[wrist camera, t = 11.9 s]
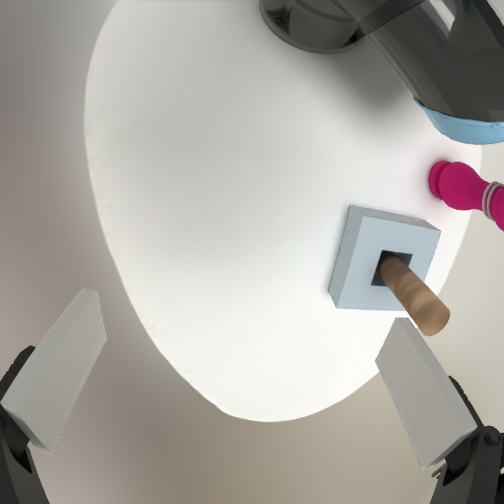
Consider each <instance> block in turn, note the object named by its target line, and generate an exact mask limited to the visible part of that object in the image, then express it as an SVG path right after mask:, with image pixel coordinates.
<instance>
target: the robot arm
mask: <svg viewBox="0 0 504 504" xmlns="http://www.w3.org/2000/svg"><path fill="white" fill-rule="evenodd" d="M260 8H261V12H262V15H263V18H264V20H265V21H266V23H267V25H268V26H269V27H270V28H271V30H272V31H273V32H274V33H275V34H276V35H278V36H279V37H280V38H281V39H283V40H284V41H286V42H287V43H289V44H291V45H293V46H295V47H297V48H300V49H303V50H306V51H310V52H315V53H337V52H341V51H344V50H347V49H349V48H351V47H353V46H354V45H356V44H357V43H359V42H360V41H361V40H362V39H363V38H364V37H365V36H366V35H368V34H369V35H368V36H369V38H370V39H371V40H372V41H373V42H374V43H375V45H376V46H377V47H378V48H379V49H380V51H381V52H382V53H383V54H384V56H385V57H386V58H387V59H388V61H389V62H390V63H391V65H392V66H393V67H394V69H395V70H396V71H397V73H398V74H399V75H400V77H401V78H402V80H403V81H404V82H405V84H406V85H407V87H408V88H409V90H410V91H411V93H412V94H413V97H414V100H415V101H416V103H417V104H418V105H419V106H420V107H421V108H423V110H424V111H425V113H426V114H427V116H428V117H429V119H430V120H431V122H432V123H433V125H434V126H435V127H436V129H437V130H438V131H439V132H441V133H442V134H444V135H446V136H447V137H449V138H450V139H452V140H455V141H458V142H462V143H466V144H475V145H484V144H495V143H500V142H504V0H260ZM385 23H386V24H385ZM377 28H378V29H377ZM374 30H375V31H374ZM371 32H372V33H371ZM106 340H107V337H106V333H105V328H104V323H103V318H102V313H101V309H100V303H99V298H98V291H96V290H91V289H85V288H82V290H81V291H80V292H79V293H78V294H77V296H76V297H75V298H74V299H73V300H72V301H71V303H70V304H69V305H68V307H67V308H66V309H65V310H64V311H63V313H62V314H61V315H60V316H59V318H58V319H57V320H56V322H55V323H54V324H53V326H52V327H51V328H50V329H49V331H48V332H47V333H46V335H45V336H44V337H43V339H42V340H41V341H40V343H39V344H38V346H37V347H33V346H31V345H30V346H29V347H27V348H26V349H24V350H23V351H22V352H20V354H19V355H18V356H17V358H16V359H15V361H14V364H12V365H11V366H10V368H9V371H7V372H6V374H5V375H4V376H3V378H2V380H1V381H0V504H50V503H49V501H48V499H47V497H46V494H45V492H44V489H43V487H42V484H41V482H40V479H39V477H38V474H37V471H36V468H35V465H34V462H33V459H32V456H31V453H30V450H29V448H28V446H27V444H28V442H29V440H30V441H31V442H32V443H33V444H34V446H35V447H36V448H38V449H40V450H42V451H44V452H46V453H49V454H51V455H53V454H54V451H55V449H56V447H57V444H58V442H59V439H60V437H61V434H62V432H63V430H64V427H65V425H66V423H67V420H68V418H69V416H70V413H71V411H72V409H73V407H74V405H75V402H76V400H77V398H78V396H79V394H80V392H81V390H82V387H83V386H84V383H85V381H86V379H87V377H88V375H89V373H90V371H91V369H92V367H93V365H94V363H95V361H96V360H97V358H98V356H99V354H100V352H101V350H102V348H103V346H104V344H105V342H106ZM375 362H376V364H377V367H378V369H379V371H380V373H381V375H382V377H383V379H384V382H385V384H386V386H387V388H388V390H389V392H390V395H391V397H392V399H393V401H394V404H395V406H396V408H397V410H398V413H399V415H400V418H401V420H402V422H403V425H404V427H405V430H406V432H407V434H408V437H409V439H410V442H411V444H412V447H413V449H414V452H415V455H416V457H417V460H418V462H419V465H420V467H421V470H425V469H428V468H430V467H433V466H436V465H437V464H438V463H439V462H440V461H441V460H443V459H444V458H445V460H446V463H445V464H444V465H442V466H441V467H440V468H439V469H437V470H436V471H435V472H434V473H433V474H432V477H434V476H435V475H437V474H438V473H439V472H440V475H438V476H437V477H436V478H437V479H438V482H437V485H436V488H435V491H434V494H433V496H432V499H431V502H430V504H504V473H503V474H501V471H500V470H501V469H502V468H503V467H504V433H500V432H499V431H498V430H497V429H496V428H494V427H493V426H486V427H485V426H484V425H483V424H482V422H481V420H480V418H479V417H478V415H477V413H476V411H475V410H474V408H473V406H472V404H471V403H470V401H468V398H467V396H466V395H465V394H464V391H463V390H462V388H461V386H460V385H459V383H458V382H457V381H456V380H455V379H453V378H452V377H451V376H447V374H446V373H445V371H444V369H443V368H442V366H441V364H440V363H439V362H438V360H437V358H436V357H435V356H434V354H433V352H432V351H431V349H430V348H429V347H428V345H427V344H426V342H425V341H424V339H423V338H422V336H421V335H420V334H419V332H418V331H417V329H416V328H415V326H414V325H413V324H412V322H411V321H410V320H409V318H395V320H394V322H393V325H392V327H391V329H390V331H389V333H388V335H387V338H386V340H385V342H384V344H383V346H382V348H381V350H380V352H379V354H378V356H377V358H376V360H375Z"/></svg>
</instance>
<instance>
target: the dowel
mask: <svg viewBox="0 0 504 504" xmlns="http://www.w3.org/2000/svg"><path fill="white" fill-rule="evenodd" d="M375 271H376V273H377V274H378V275H379V276H380V278H381V279H382V280H383V281H384V283H385V284H386V285H387V286H388V288H389V289H390V290H391V291H392V293H393V294H394V295H395V297H396V298H397V299H398V301H399V302H400V303H401V304H402V306H403V307H404V308H405V310H406V311H407V312H408V314H409V315H410V316H411V318H412V319H413V320H414V322H415V323H416V325H417V326H418V327H419V329H420V330H421V331H422V333H423V334H424V335H426V336H432V335H434V334H437V333H438V332H439V331H441V330H442V329H443V328H444V327H445V325H446V324H447V322H448V320H449V317H450V311H449V309H448V308H447V307H446V306H445V305H444V304H443V302H442V301H441V300H440V299H439V298H438V297H437V296H436V295H435V294H434V293H433V292H432V291H431V290H430V289H429V288H428V286H427V285H426V284H425V283H424V282H423V281H422V280H421V279H420V278H419V277H418V276H417V275H416V274H415V273H414V272H413V271H412V270H411V269H410V268H409V267H408V266H407V265H406V264H405V263H404V262H403V261H402V260H401V259H400V258H399V257H398V256H397V255H395V254H394V253H393V252H392V251H387V250H382V251H381V254H380V258H379V261H378V264H377V267H376V270H375Z"/></svg>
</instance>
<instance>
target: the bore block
mask: <svg viewBox="0 0 504 504" xmlns="http://www.w3.org/2000/svg"><path fill="white" fill-rule="evenodd" d="M440 234H441V231H440V230H439V229H437V228H436V227H434V226H432V225H431V224H429V223H428V222H426V221H424V220H420V219H415V218H411V217H406V216H401V215H397V214H392V213H387V212H382V211H377V210H371V209H366V208H361V207H355V206H350V208H349V212H348V217H347V221H346V225H345V229H344V233H343V237H342V241H341V245H340V249H339V253H338V257H337V261H336V264H335V268H334V272H333V275H332V279H331V282H330V286H329V289H328V291H329V293H330V295H331V298H332V300H333V302H334V304H335V306H336V308H341V309H362V310H389V311H406V310H405V308H404V307H403V306H402V304H401V303H400V302H399V301H398V299H397V298H396V297H395V295H394V294H393V293H392V291H391V290H390V289H389V288H388V286H387V285H386V284H385V283H384V281H383V280H382V279H381V278H380V276H379V275H378V274H377V273H376V271H375V270H376V267H377V264H378V261H379V258H380V254H381V251H382V250H387V251H392V252H393V253H394V254H395V255H397V256H398V257H399V258H400V259H401V260H402V261H403V262H404V263H405V264H406V265H407V266H408V267H409V268H410V269H411V270H412V271H413V272H414V273H415V274H416V275H417V276H418V277H419V278H420V279H421V280H422V281H423V282H424V280H425V277H426V275H427V272H428V270H429V267H430V264H431V261H432V259H433V256H434V253H435V250H436V247H437V244H438V241H439V238H440Z"/></svg>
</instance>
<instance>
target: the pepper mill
mask: <svg viewBox="0 0 504 504" xmlns="http://www.w3.org/2000/svg"><path fill="white" fill-rule="evenodd" d="M429 186H430V189H431V191H432V193H433V194H434V195H435V196H436V197H437V198H439V199H442V200H444V202H445V203H446V204H447V205H448V206H449V207H451V208H454V209H456V210H471V209H478V210H481V211H483V212H484V214H485V216H486V217H487V218H489V219H491V220H492V221H495V222H496V224H497V226H498V227H499V228H500V229H501V230H503V231H504V184H501V183H499V182H492V183H488V182H486V181H484V180H483V179H481V178H480V177H479V175H478V174H477V173H476V172H475V170H474V169H473V168H471V167H470V166H469V165H467V164H465V163H462V162H453V163H451V162H447V161H440V162H438V163H436V164H435V165H434V166H433V168H432V170H431V172H430V175H429Z"/></svg>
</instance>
